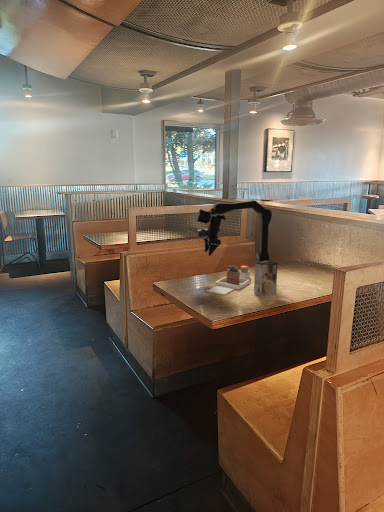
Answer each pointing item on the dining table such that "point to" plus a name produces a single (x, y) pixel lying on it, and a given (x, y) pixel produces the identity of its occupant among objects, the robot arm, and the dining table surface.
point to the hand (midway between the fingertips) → (207, 253)
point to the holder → (243, 278)
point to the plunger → (244, 269)
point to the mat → (220, 290)
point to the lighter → (233, 275)
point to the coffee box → (265, 278)
